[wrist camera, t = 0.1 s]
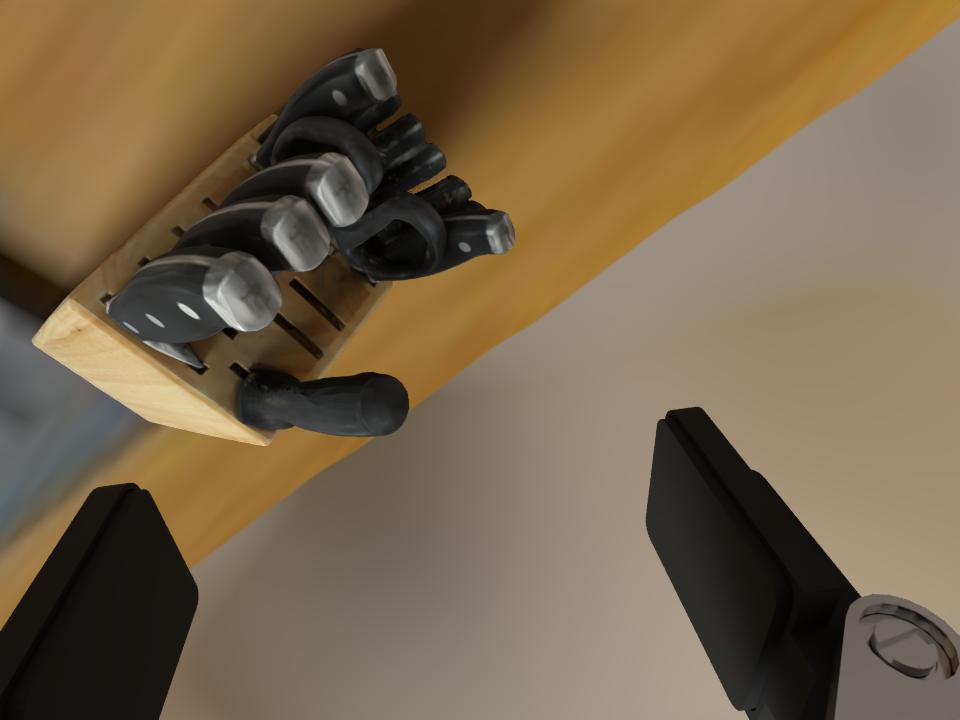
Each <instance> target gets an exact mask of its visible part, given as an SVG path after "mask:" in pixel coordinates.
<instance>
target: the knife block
mask: <svg viewBox="0 0 960 720" xmlns="http://www.w3.org/2000/svg"><path fill="white" fill-rule="evenodd" d="M396 86H397V80H396V75H395V73H394V71H393V70H392V68H391V66H390V64H389V62H388V60H387V58H386V56H385V54H384V52H383V50H382V49H381V48H378V47H376V48H368V49H362V48H357V49H356V50H354V51H353V52H350V53H347V54H345V55H343V56H341V57H339V58H337V59H335V60H333V61H331V62H330V63H328V64H327V65H326V66H324V67H323V68H321V69H320V70H318V71H317V72H316V73H314V74H313V75H312V76H311V77H310V78H309V79H308V80H307V81H306V82H305V83H304V84H303V85H302V86H301V87H300V88H299V89H298V90H297V91H296V92H295V94H294V95H293V96H292V97H291V99H290V100H289V102H288V103H287V104H286V106H285V107H284V109H283V111H282V112H281V114H280V116H279V117H278V116H277V115H276V114H272V115H270V116H268V117H267V118H266V119H264V120H263V121H262V122H260V123H259V124H258V125H256V126H255V127H254V128H253V129H251V130H250V131H249V132H248V133H247V134H245V135H243V136H242V137H241V138H240V139H238V140H237V141H236V142H235V143H234V144H233V145H232V146H231V147H229V148H228V149H227V150H226V151H225V152H224V153H223V154H222V155H220V156H219V157H218V158H217V159H216V160H215V161H214V162H213V163H212V164H210V165H209V166H208V167H207V168H206V169H205V170H204V171H203V172H202V173H200V174H199V175H198V176H197V177H196V178H195V179H194V180H193V181H192V182H191V183H189V184H188V185H187V186H186V187H185V188H184V189H183V190H182V191H181V192H180V193H178V194H177V195H176V196H175V197H174V198H173V199H172V200H171V201H170V202H168V203H167V204H166V205H165V206H164V207H163V208H162V209H161V210H160V211H159V212H157V213H156V214H155V215H154V216H153V217H152V218H151V219H150V220H149V221H148V222H147V223H145V224H144V225H143V226H142V227H141V228H140V229H139V230H138V231H137V232H136V233H134V234H133V235H132V236H131V237H130V238H129V239H128V240H127V241H126V242H125V243H124V244H122V245H121V246H120V247H119V248H118V249H117V250H116V251H115V252H114V253H113V254H112V255H111V256H109V257H108V258H107V259H106V260H105V261H104V262H103V263H102V264H101V265H100V266H99V267H98V268H97V269H95V270H94V271H93V272H92V273H91V274H90V275H89V276H88V277H87V278H86V279H85V280H84V281H83V282H81V283H80V284H79V285H78V286H77V287H76V288H75V289H74V290H73V291H72V292H71V293H70V294H69V295H68V296H67V297H66V298H65V299H64V300H63V302H62V303H61V304H60V305H59V306H58V307H57V308H56V310H55V311H54V312H53V313H52V314H51V315H50V317H49V318H48V319H47V320H46V322H45V323H44V324H43V325H42V327H41V328H40V330H39V331H38V332H37V333H36V335H35V336H34V337H33V338H32V342H33V344H34V345H35V346H36V347H38V348H39V349H41V350H42V351H44V352H45V353H47V354H48V355H50V356H51V357H53V358H54V359H56V360H57V361H59V362H60V363H62V364H63V365H65V366H66V367H68V368H69V369H71V370H72V371H74V372H75V373H77V374H78V375H80V376H81V377H83V378H84V379H86V380H87V381H89V382H90V383H92V384H93V385H94V386H96V387H97V388H99V389H100V390H102V391H104V392H105V393H107V394H108V395H110V396H111V397H113V398H114V399H116V400H117V401H119V402H120V403H122V404H123V405H125V406H126V407H128V408H130V409H131V410H133V411H134V412H136V413H137V414H139V415H140V416H142V417H143V418H145V419H146V420H148V421H150V422H154V423H158V424H162V425H166V426H171V427H175V428H179V429H184V430H188V431H192V432H197V433H201V434H206V435H211V436H216V437H220V438H225V439H230V440H235V441H240V442H245V443H251V444H256V445H262V446H267V445H269V444H270V443H271V442H272V441H273V439H274V438H275V437H276V436H277V435H278V433H279V432H280V431H281V430H282V429H288V428H292V427H293V426H297V427H299V428H302V429H305V430H309V431H314V432H319V433H323V434H328V435H336V436H356V437H372V436H384V435H388V434H391V433H393V432H395V431H397V430H398V429H399V428H400V427H401V426H402V424H403V422H404V421H405V419H406V417H407V414H408V410H409V399H408V393H407V391H406V389H405V387H404V386H403V384H402V383H401V382H400V381H399V380H397V379H396V378H395V377H392V376H390V375H387V374H379V373H375V372H364V373H360V374H356V375H353V376H342V377H329V378H323V376H324V375H325V374H326V373H327V371H328V370H329V369H330V367H331V366H332V365H333V363H334V362H335V361H336V360H337V358H338V357H339V356H340V354H341V353H342V352H343V350H344V349H345V348H346V347H347V345H348V344H349V343H350V341H351V340H352V339H353V337H354V336H355V335H356V334H357V332H358V331H359V330H360V328H361V327H362V326H363V324H364V323H365V322H366V320H367V319H368V318H369V317H370V315H371V314H372V313H373V311H374V310H375V309H376V307H377V306H378V305H379V303H380V302H381V301H382V299H383V298H384V297H385V295H386V294H387V293H388V291H389V290H390V288H391V286H392V281H398V280H408V279H415V278H420V277H425V276H430V275H434V274H436V273H440V272H443V271H445V270H448V269H450V268H452V267H455V266H457V265H460V264H462V263H464V262H466V261H469V260H471V259H473V258H475V257H477V256H481V255H486V254H505V253H507V251H508V250H510V249H511V248H512V247H513V246H514V242H515V230H514V227H513V225H512V222H511V220H510V217H509V215H508V214H507V213H505V212H503V211H498V210H494V209H486V208H485V207H484V206H482V205H481V204H480V203H478V202H476V201H472V200H470V201H469V199H470V198H471V197H472V193H471V190H470V188H469V186H468V185H467V183H465V182H464V181H463V180H461V179H460V178H458V177H457V176H454V175H449V176H447V177H446V178H445V179H442V180H441V181H439V182H438V183H436V184H434V185H432V186H430V187H428V188H426V189H424V190H422V191H420V192H417V193H415V194H411V193H409V192H406V191H408V190H410V189H412V188H413V187H415V186H417V185H419V184H421V183H422V182H425V181H427V180H429V179H431V178H432V177H434V176H435V175H437V174H438V173H439V172H440V171H442V170H443V169H444V168H445V167H446V159H445V156H444V154H443V152H442V151H441V150H440V149H439V148H438V147H437V146H436V145H434V144H433V143H429V144H428V143H427V142H426V141H425V140H424V138H425V136H426V134H425V131H424V129H423V127H422V124H421V122H420V121H419V120H418V119H417V118H416V117H415V116H414V115H412V114H410V113H409V114H407V115H405V116H403V117H401V118H399V119H398V120H397V121H395V122H394V123H392V124H391V125H389V126H388V127H387V128H385V129H383V130H381V131H377V129H376V126H377V125H379V124H380V123H382V122H383V121H385V120H386V119H388V118H389V117H390V116H391V115H393V114H394V113H395V112H396V111H397V110H398V109H399V107H400V106H401V98H400V96H399V93H398V91H397V90H396Z"/></svg>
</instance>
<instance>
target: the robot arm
mask: <svg viewBox="0 0 960 720" xmlns="http://www.w3.org/2000/svg"><path fill="white" fill-rule="evenodd" d="M646 527H647V531H648V535H649V537H650V540H651V542H652V544H653V546H654V548H655V550H656V552H657V554H658V556H659V558H660V560H661V562H662V564H663V566H664V568H665V570H666V572H667V574H668V576H669V578H670V580H671V582H672V584H673V586H674V588H675V590H676V592H677V595H678V597H679V598H680V601H681V603H682V605H683V607H684V609H685V611H686V613H687V615H688V617H689V619H690V621H691V623H692V625H693V627H694V629H695V631H696V633H697V635H698V637H699V639H700V641H701V643H702V645H703V647H704V649H705V651H706V653H707V655H708V657H709V659H710V661H711V663H712V665H713V667H714V670H715V671H716V673H717V675H718V678H719V679H720V682H721V683H722V686H723V688H724V690H725V692H726V694H727V696H728V698H729V700H730V701H731V703H732V705H733V706H734V707H735V709H737V710H738V711H742V710H745V712H746V714H747V716H748V718H749V720H960V636H959V635H958V634H957V633H956V632H955V631H954V630H953V629H952V628H951V627H950V626H949V625H948V624H947V623H946V622H945V621H944V620H942V619H941V618H939V617H938V616H936V615H935V614H934V613H932V612H931V611H929V610H927V609H926V608H924V607H922V606H920V605H917V604H915V603H913V602H911V601H909V600H906V599H903V598H899V597H895V596H891V595H879V594H872V595H868V596H864V597H861V596H860V595H859V593H858V592H857V591H856V590H855V588H854V587H853V586H852V585H851V584H850V582H849V581H848V580H847V579H846V577H845V576H844V575H843V574H842V573H841V571H840V570H839V569H838V568H837V566H836V565H835V564H834V563H833V561H832V560H831V559H830V558H829V557H828V555H827V554H826V553H825V552H824V550H823V549H822V548H821V547H820V545H819V544H818V543H817V542H816V541H815V539H814V538H813V537H812V536H811V534H810V533H809V532H808V531H807V529H805V527H804V526H803V525H802V523H801V522H800V521H799V519H798V518H797V517H796V516H795V515H794V513H793V512H792V511H791V510H790V509H789V507H788V506H787V505H786V504H785V502H784V501H783V500H782V499H781V497H780V496H779V495H778V494H777V493H776V491H775V490H774V489H773V488H772V486H771V485H770V484H769V483H768V481H767V480H766V479H765V478H764V477H763V476H762V475H761V474H760V473H758V472H756V471H754V470H751V469H750V468H749V466H748V465H747V464H746V463H745V461H744V460H743V459H742V458H741V456H740V455H739V454H738V453H737V451H736V450H735V449H734V448H733V446H732V445H731V444H730V443H729V441H728V440H727V439H726V438H725V436H724V435H723V434H722V433H721V431H720V430H719V429H718V428H717V426H716V425H715V424H714V422H713V421H712V420H711V419H710V417H709V416H708V415H707V414H706V412H705V411H704V410H703V409H702V408H700V407H691V408H685V409H677V410H670V411H668V412H667V414H666V417H665V419H661V420H659V421H658V424H657V430H656V439H655V447H654V454H653V464H652V471H651V479H650V488H649V496H648V504H647V513H646ZM197 604H198V588H197V585H196V583H195V581H194V579H193V577H192V575H191V573H190V571H189V569H188V567H187V565H186V563H185V561H184V559H183V557H182V555H181V553H180V551H179V549H178V547H177V545H176V543H175V541H174V539H173V537H172V535H171V533H170V531H169V529H168V527H167V526H166V524H165V522H164V520H163V518H162V516H161V514H160V512H159V510H158V508H157V506H156V504H155V502H154V500H153V498H152V496H151V494H150V493H149V491H147V490H144V489H142V490H141V489H140V488H139V487H138V485H136V484H135V483H125V484H118V485H110V486H103V487H98V488H96V489H94V490H93V491H92V492H91V493H90V494H89V496H88V497H87V499H86V501H85V502H84V504H83V505H82V507H81V508H80V510H79V511H78V513H77V514H76V516H75V517H74V519H73V521H72V522H71V524H70V525H69V527H68V528H67V530H66V531H65V533H64V534H63V536H62V537H61V539H60V541H59V542H58V544H57V545H56V547H55V548H54V550H53V551H52V553H51V554H50V556H49V557H48V559H47V561H46V562H45V564H44V565H43V567H42V568H41V570H40V571H39V573H38V574H37V576H36V577H35V579H34V581H33V582H32V584H31V585H30V587H29V588H28V590H27V591H26V593H25V594H24V596H23V597H22V599H21V601H20V602H19V604H18V605H17V607H16V608H15V610H14V611H13V613H12V614H11V616H10V617H9V619H8V621H7V622H6V624H5V625H4V627H3V628H2V630H1V631H0V720H159V717H160V714H161V711H162V708H163V705H164V702H165V699H166V696H167V694H168V690H169V688H170V685H171V682H172V679H173V676H174V673H175V670H176V667H177V664H178V661H179V658H180V655H181V652H182V650H183V647H184V644H185V640H186V638H187V635H188V632H189V629H190V626H191V623H192V620H193V617H194V614H195V611H196V608H197Z"/></svg>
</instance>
